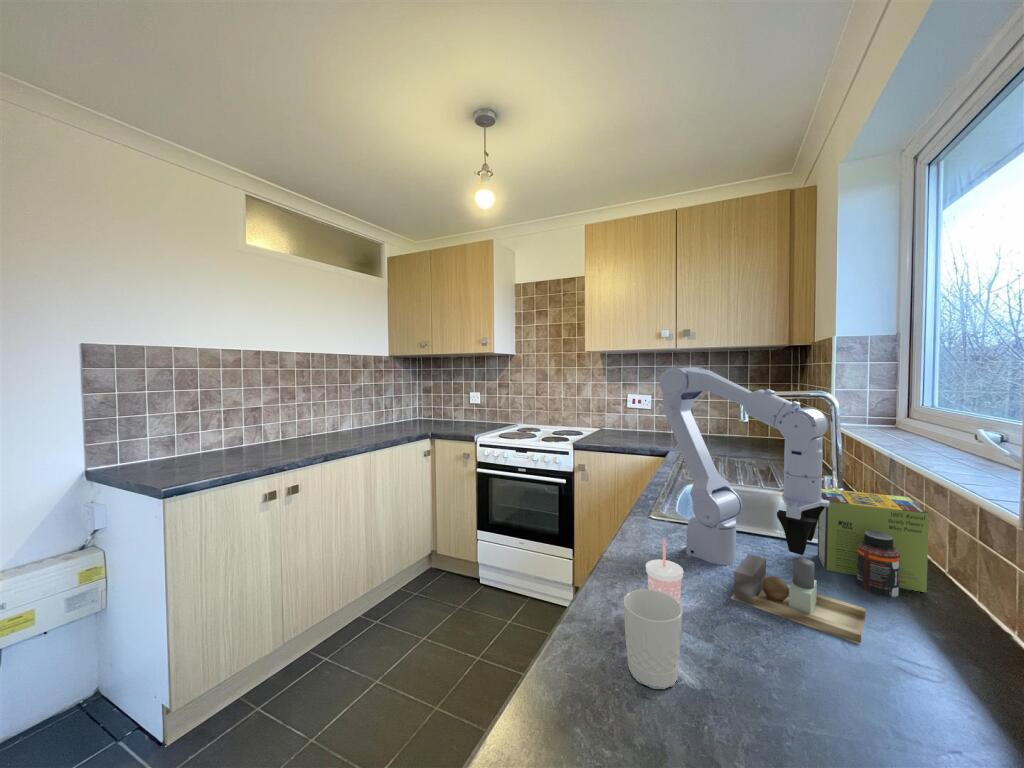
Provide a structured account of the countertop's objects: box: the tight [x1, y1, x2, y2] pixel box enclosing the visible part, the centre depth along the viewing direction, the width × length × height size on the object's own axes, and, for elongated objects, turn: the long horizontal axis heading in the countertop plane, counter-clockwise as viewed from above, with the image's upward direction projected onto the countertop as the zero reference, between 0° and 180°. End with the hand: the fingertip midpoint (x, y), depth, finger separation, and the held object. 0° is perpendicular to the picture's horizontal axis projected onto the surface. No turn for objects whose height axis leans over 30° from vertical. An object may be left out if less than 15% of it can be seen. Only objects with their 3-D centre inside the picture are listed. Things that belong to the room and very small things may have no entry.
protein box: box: [817, 488, 930, 592], centre depth 84 cm, size 10×15×16 cm
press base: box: [730, 553, 867, 645], centre depth 71 cm, size 18×10×6 cm, turn 46°
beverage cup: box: [645, 538, 684, 604], centre depth 70 cm, size 6×6×14 cm
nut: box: [762, 575, 789, 604], centre depth 73 cm, size 4×4×4 cm
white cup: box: [623, 588, 683, 687], centre depth 58 cm, size 8×8×10 cm
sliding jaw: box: [789, 556, 818, 615], centre depth 70 cm, size 3×6×8 cm, turn 136°
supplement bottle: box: [856, 531, 900, 598], centre depth 76 cm, size 6×6×11 cm
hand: (800, 545), depth 76 cm, fingers open, 7 cm apart
